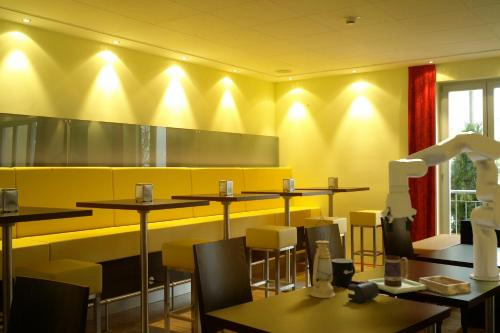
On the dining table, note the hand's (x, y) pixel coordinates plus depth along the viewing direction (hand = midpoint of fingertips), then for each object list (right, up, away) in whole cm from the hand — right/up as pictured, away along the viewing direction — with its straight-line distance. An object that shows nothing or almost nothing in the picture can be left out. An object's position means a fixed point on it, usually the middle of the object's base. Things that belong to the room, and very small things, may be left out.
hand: (399, 231), depth 206 cm
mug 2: (-2, -22, -1) cm, 22 cm away
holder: (+16, -22, -5) cm, 28 cm away
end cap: (-20, -23, -23) cm, 38 cm away
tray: (-2, -23, -1) cm, 23 cm away
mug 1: (-22, -23, +5) cm, 32 cm away
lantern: (-34, -23, -13) cm, 43 cm away
